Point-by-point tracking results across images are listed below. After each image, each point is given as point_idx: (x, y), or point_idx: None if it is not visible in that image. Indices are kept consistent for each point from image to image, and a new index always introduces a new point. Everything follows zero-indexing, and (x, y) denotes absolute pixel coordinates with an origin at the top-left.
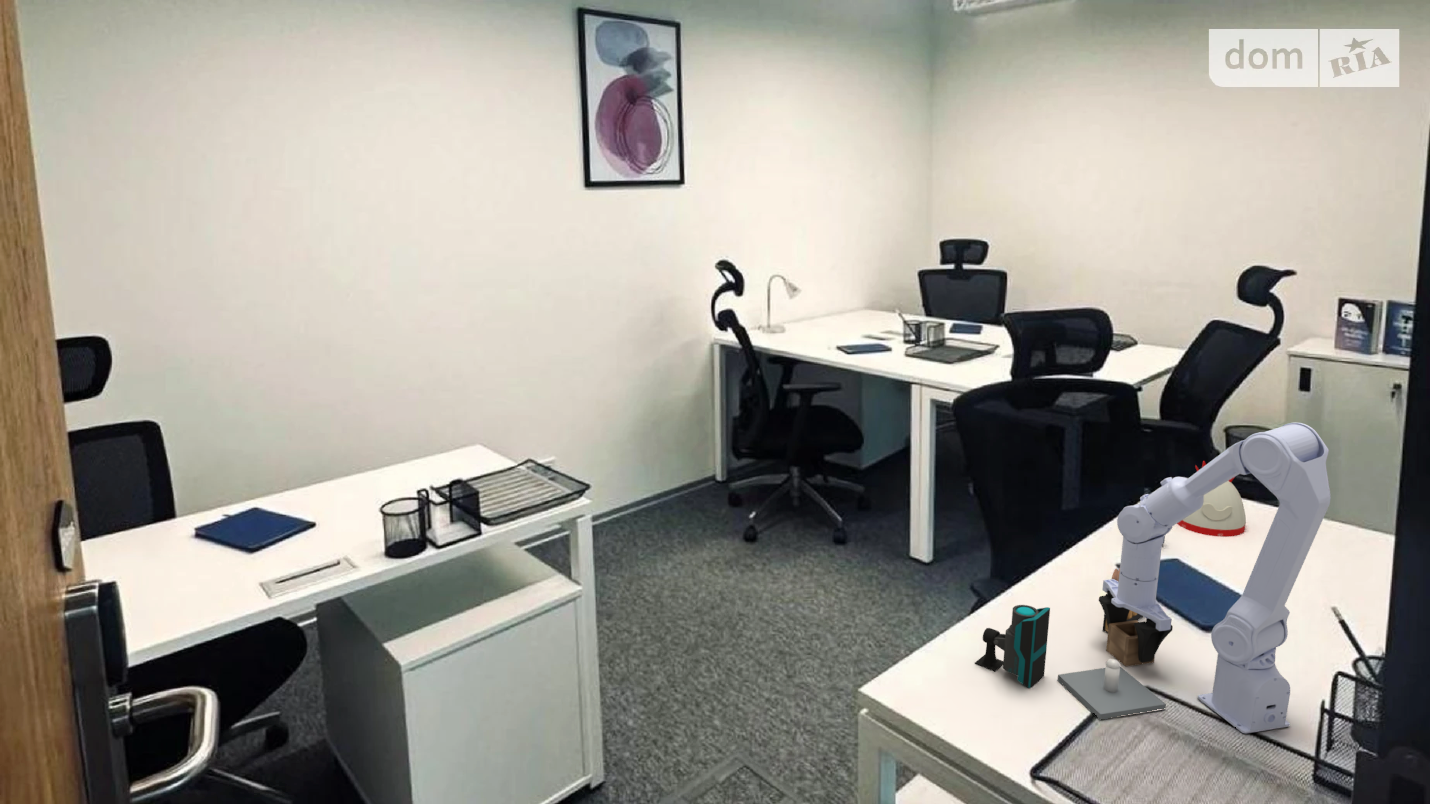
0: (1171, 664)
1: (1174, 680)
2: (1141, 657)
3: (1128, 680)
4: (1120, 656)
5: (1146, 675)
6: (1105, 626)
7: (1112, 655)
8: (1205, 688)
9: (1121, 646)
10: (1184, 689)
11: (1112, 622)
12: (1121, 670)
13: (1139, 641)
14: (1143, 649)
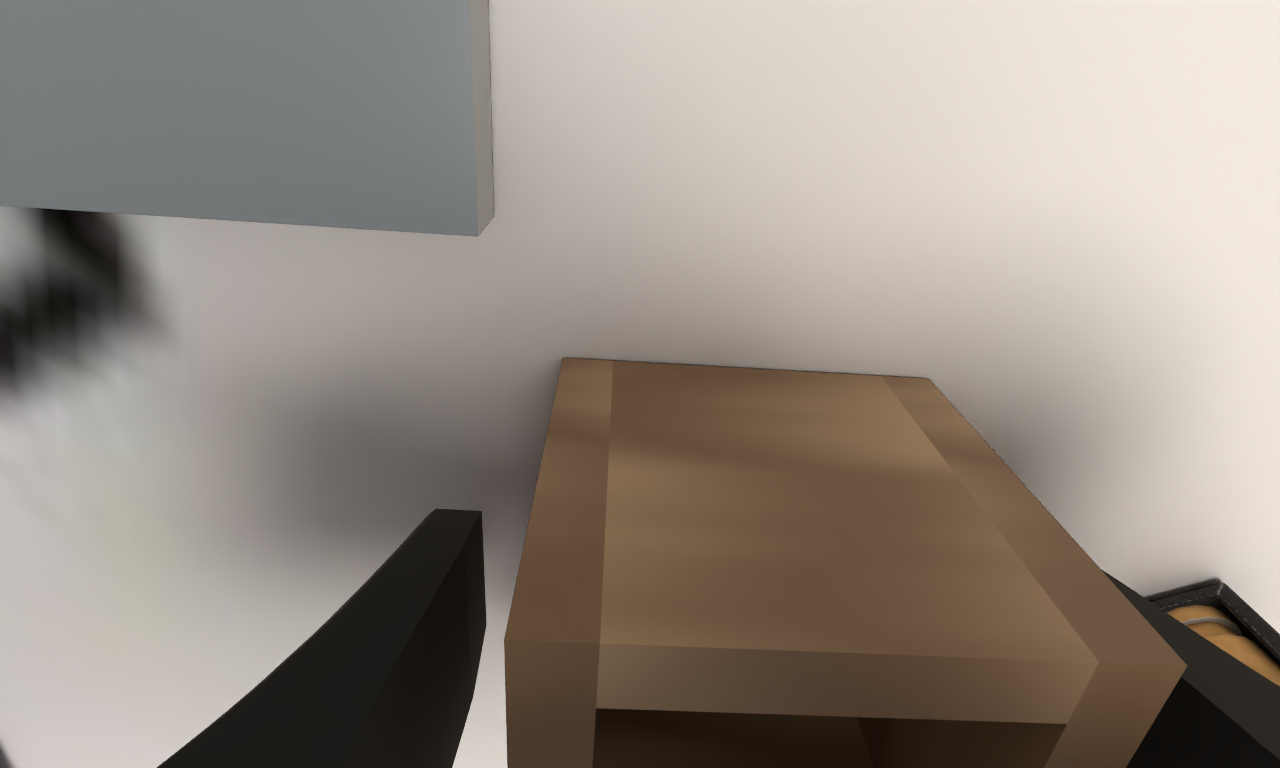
0: (497, 721)
1: (242, 603)
2: (403, 548)
3: (62, 76)
4: (674, 396)
5: (358, 442)
6: (1244, 638)
7: (809, 373)
8: (104, 721)
9: (690, 480)
10: (80, 586)
11: (1188, 737)
12: (353, 173)
13: (303, 743)
14: (295, 655)
